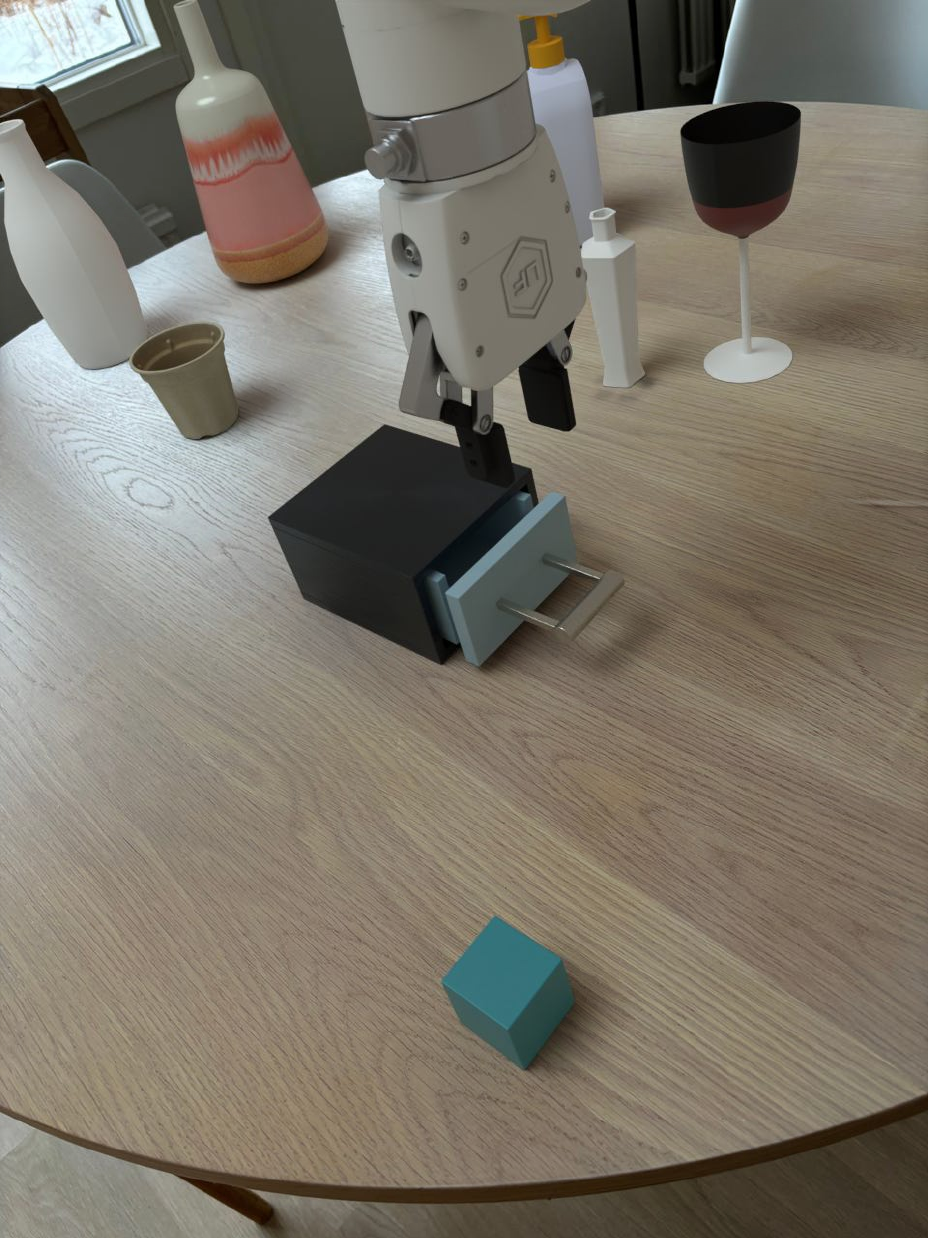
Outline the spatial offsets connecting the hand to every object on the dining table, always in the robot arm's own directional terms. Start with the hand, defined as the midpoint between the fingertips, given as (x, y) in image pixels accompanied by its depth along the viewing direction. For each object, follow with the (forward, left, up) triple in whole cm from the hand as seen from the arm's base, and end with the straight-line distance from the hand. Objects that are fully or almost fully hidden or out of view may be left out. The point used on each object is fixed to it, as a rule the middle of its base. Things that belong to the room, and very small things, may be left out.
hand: (522, 449), depth 59 cm
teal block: (-1, +26, -15) cm, 31 cm away
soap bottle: (+6, -65, -16) cm, 67 cm away
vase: (+43, -67, -16) cm, 81 cm away
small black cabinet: (+11, -7, -15) cm, 20 cm away
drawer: (+5, -3, -15) cm, 16 cm away
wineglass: (-13, -34, -16) cm, 39 cm away
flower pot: (+39, -32, -16) cm, 53 cm away
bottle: (+59, -50, -16) cm, 79 cm away
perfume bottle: (-2, -33, -16) cm, 36 cm away
